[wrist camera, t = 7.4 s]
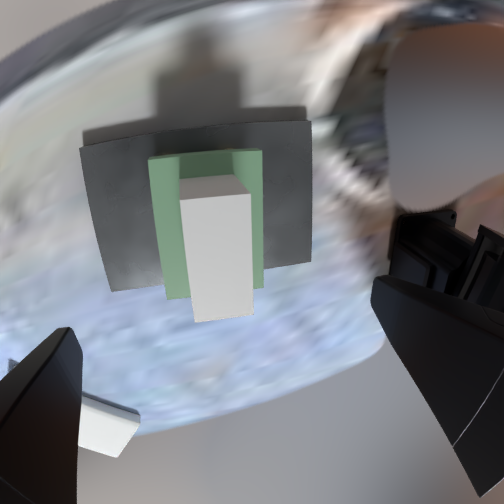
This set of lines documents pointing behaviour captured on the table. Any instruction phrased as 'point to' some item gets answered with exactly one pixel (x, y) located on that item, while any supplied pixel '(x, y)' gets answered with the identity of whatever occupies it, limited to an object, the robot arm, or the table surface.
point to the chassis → (186, 141)
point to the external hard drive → (105, 427)
